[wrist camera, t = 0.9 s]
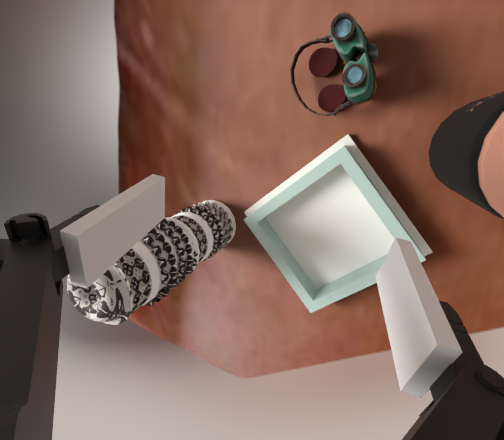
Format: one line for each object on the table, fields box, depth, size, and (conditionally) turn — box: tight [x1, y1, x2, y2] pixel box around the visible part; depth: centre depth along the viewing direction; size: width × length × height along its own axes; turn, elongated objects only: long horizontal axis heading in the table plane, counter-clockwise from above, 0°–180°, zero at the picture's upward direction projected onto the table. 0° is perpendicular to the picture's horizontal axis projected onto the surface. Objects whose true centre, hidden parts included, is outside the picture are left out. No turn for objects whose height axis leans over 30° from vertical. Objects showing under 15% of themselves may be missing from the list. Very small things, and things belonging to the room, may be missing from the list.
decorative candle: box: [67, 200, 236, 325], centre depth 38 cm, size 9×9×25 cm
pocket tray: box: [244, 134, 433, 313], centre depth 40 cm, size 19×19×4 cm
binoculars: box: [290, 13, 379, 116], centre depth 32 cm, size 9×10×10 cm
